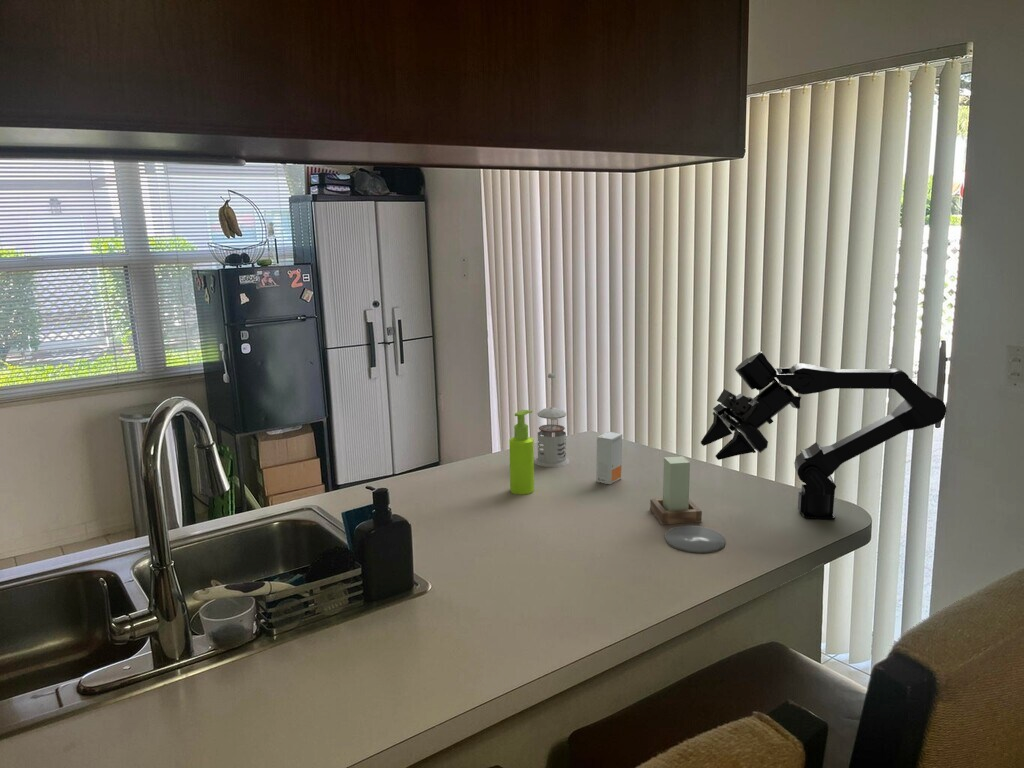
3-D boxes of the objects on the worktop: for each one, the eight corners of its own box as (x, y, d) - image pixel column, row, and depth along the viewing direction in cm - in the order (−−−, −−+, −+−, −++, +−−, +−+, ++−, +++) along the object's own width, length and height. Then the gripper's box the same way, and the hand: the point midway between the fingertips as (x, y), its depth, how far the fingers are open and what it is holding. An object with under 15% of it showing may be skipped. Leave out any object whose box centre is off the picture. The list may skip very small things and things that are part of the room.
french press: (532, 466, 198) (530, 376, 192) (537, 453, 209) (536, 368, 204) (568, 467, 196) (567, 377, 191) (571, 454, 207) (571, 368, 202)
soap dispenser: (540, 487, 181) (539, 410, 177) (526, 496, 176) (524, 416, 171) (520, 483, 184) (519, 407, 180) (505, 492, 179) (504, 413, 174)
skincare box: (610, 485, 182) (611, 439, 179) (595, 482, 184) (596, 436, 182) (622, 478, 187) (622, 433, 184) (607, 475, 189) (608, 431, 187)
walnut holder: (687, 506, 167) (687, 496, 166) (701, 521, 158) (701, 511, 158) (650, 509, 166) (650, 498, 165) (662, 524, 157) (662, 513, 157)
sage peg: (681, 511, 164) (683, 456, 162) (688, 518, 160) (690, 462, 157) (662, 512, 164) (663, 457, 161) (668, 519, 160) (670, 463, 157)
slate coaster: (720, 529, 154) (720, 527, 154) (728, 554, 142) (728, 551, 142) (663, 527, 156) (663, 524, 156) (666, 551, 144) (666, 548, 144)
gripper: (728, 369, 166) (674, 412, 167) (763, 389, 148) (702, 438, 149) (755, 404, 168) (702, 447, 170) (792, 428, 150) (733, 476, 152)
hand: (709, 450), depth 160 cm, fingers open, 9 cm apart
